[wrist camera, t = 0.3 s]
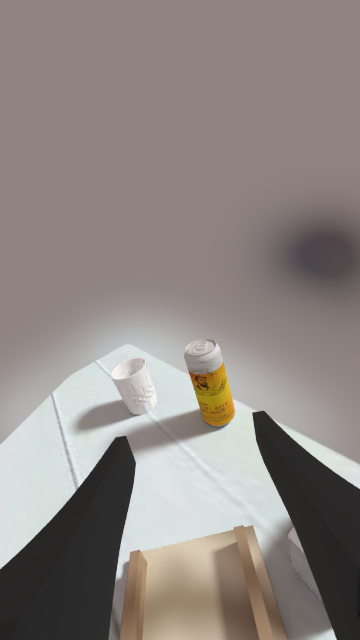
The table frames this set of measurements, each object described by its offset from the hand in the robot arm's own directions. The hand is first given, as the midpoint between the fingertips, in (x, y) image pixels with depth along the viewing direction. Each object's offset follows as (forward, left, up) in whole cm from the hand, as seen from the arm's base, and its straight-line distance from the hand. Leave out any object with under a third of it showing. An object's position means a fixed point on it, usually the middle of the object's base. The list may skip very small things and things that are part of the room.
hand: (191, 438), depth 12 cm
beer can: (+22, -2, -21) cm, 31 cm away
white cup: (+31, +14, -21) cm, 40 cm away
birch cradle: (0, +5, -21) cm, 22 cm away
